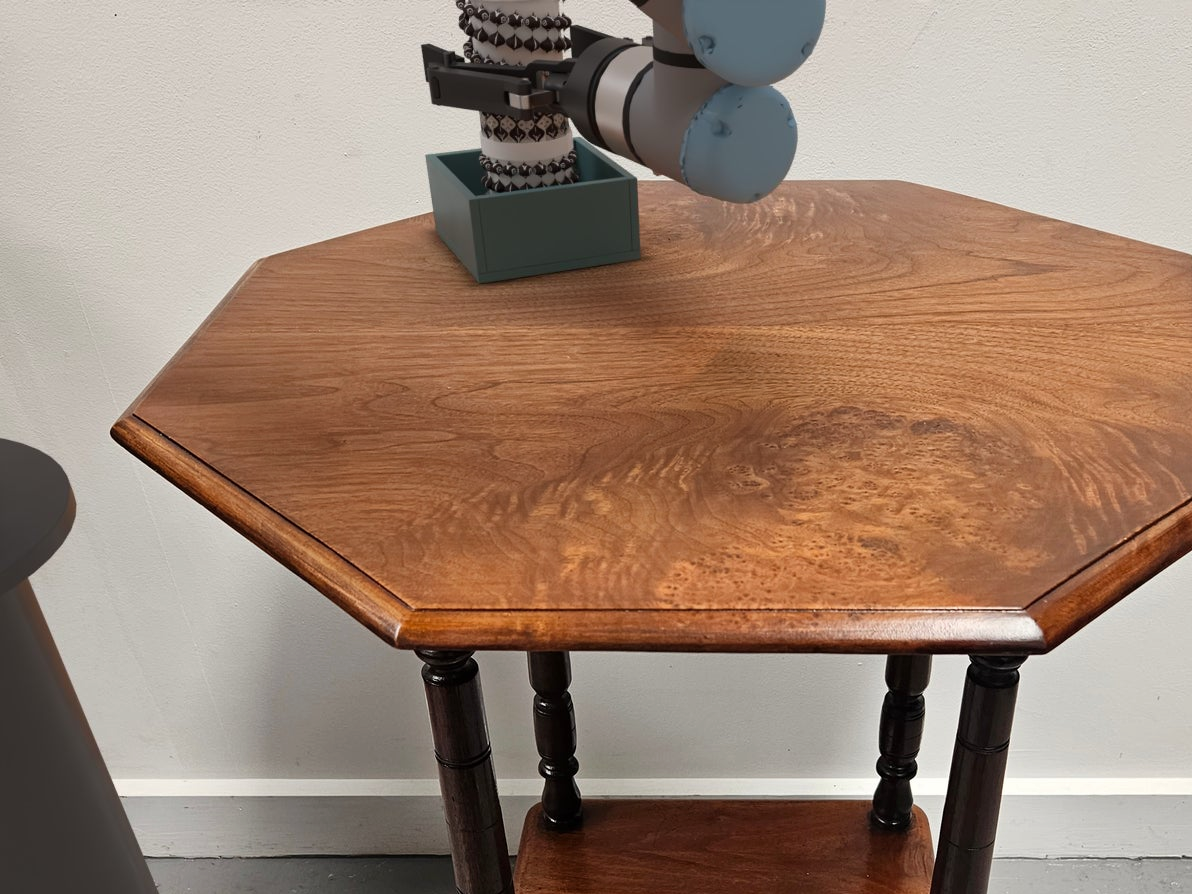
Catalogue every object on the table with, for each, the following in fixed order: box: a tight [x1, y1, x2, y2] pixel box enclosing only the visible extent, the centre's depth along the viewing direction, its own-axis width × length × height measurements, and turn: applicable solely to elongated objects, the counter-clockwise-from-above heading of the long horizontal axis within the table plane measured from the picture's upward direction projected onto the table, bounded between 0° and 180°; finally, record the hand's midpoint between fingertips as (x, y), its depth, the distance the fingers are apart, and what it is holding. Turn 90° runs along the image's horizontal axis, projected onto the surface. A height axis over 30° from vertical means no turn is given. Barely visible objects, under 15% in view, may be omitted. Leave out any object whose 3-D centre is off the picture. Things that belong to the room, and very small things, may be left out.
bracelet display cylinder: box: [455, 0, 579, 195], centre depth 104 cm, size 9×9×25 cm
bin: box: [424, 136, 642, 285], centre depth 110 cm, size 15×15×7 cm
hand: (502, 52), depth 104 cm, fingers open, 13 cm apart
